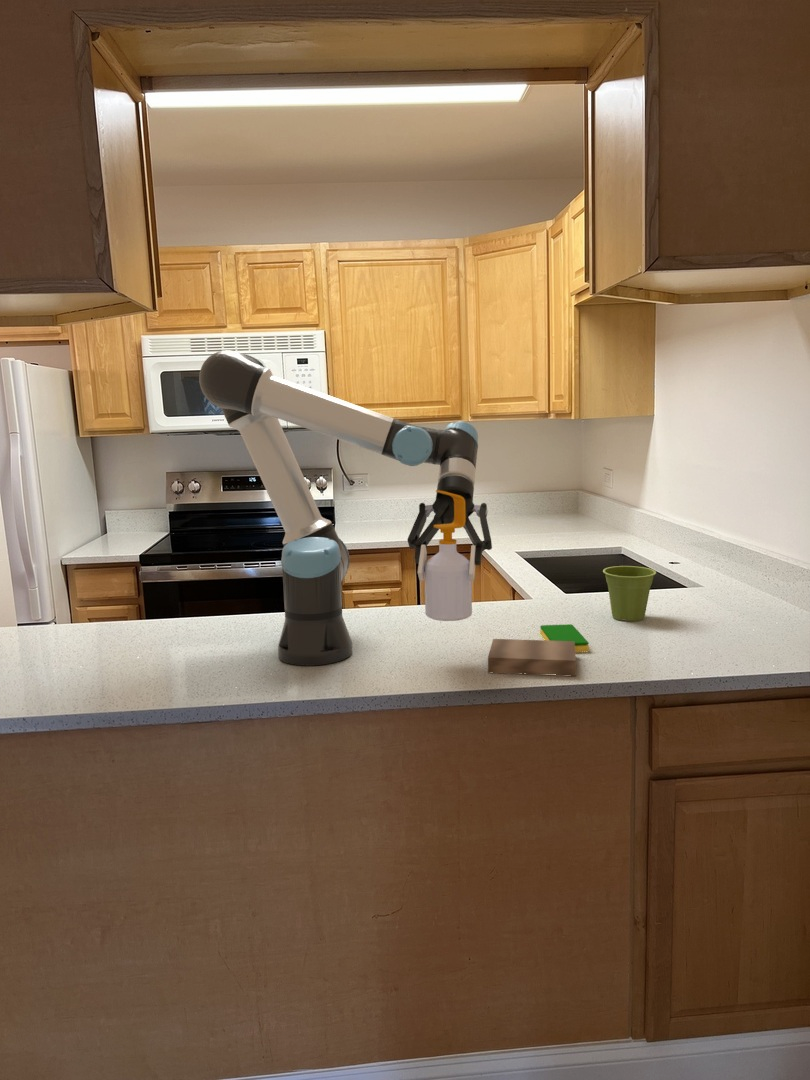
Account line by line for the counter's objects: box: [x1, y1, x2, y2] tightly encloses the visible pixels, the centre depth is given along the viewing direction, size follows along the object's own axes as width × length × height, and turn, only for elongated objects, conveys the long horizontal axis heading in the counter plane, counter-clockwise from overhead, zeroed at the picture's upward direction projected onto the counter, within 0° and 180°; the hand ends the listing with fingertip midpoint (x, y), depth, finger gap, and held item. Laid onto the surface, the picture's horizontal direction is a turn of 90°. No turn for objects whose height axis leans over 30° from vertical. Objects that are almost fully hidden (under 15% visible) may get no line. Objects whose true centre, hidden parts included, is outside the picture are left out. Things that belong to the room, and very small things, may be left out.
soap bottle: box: [424, 489, 473, 622], centre depth 143 cm, size 9×9×25 cm
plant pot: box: [602, 565, 657, 622], centre depth 173 cm, size 12×12×11 cm
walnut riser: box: [487, 638, 577, 677], centre depth 143 cm, size 16×12×3 cm
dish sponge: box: [539, 623, 590, 653], centre depth 157 cm, size 7×14×2 cm, turn 1°
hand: (445, 577), depth 141 cm, fingers closed on soap bottle, 9 cm apart
